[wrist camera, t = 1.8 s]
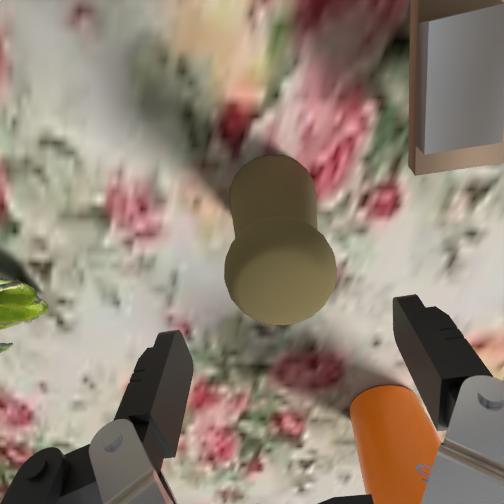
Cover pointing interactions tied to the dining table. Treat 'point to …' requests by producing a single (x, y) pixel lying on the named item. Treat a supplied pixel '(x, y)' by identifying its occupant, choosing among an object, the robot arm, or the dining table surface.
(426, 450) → the shaker bottle
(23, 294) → the passion flower
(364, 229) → the dining table surface
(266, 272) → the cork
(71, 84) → the dining table surface
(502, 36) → the seesaw board
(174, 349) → the robot arm
